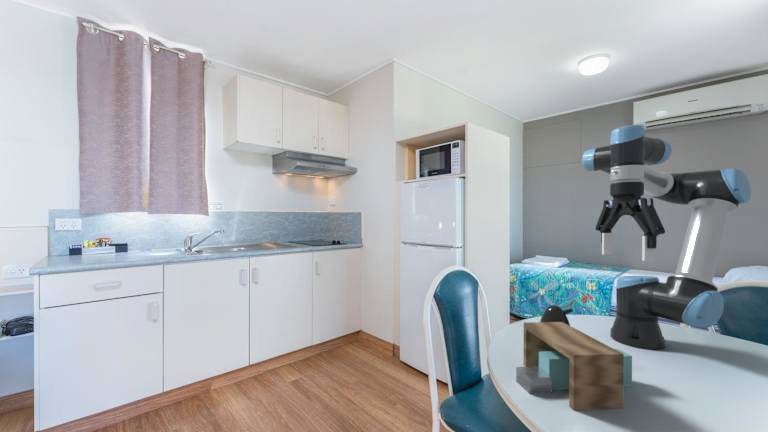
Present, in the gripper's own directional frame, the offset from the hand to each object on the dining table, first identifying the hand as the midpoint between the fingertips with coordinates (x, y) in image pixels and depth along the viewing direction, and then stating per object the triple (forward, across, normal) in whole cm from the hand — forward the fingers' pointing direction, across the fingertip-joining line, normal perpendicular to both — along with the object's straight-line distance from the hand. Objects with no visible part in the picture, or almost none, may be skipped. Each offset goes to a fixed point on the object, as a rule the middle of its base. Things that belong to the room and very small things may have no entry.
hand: (626, 257), depth 88 cm
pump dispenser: (+33, -15, -11) cm, 38 cm away
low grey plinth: (+33, +5, -30) cm, 45 cm away
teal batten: (+33, +4, -15) cm, 36 cm away
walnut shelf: (+33, +4, -20) cm, 39 cm away
